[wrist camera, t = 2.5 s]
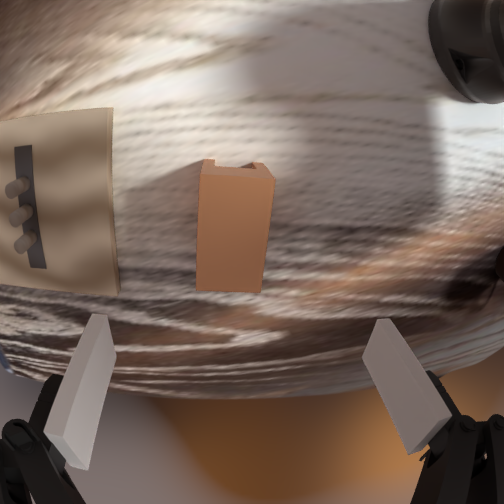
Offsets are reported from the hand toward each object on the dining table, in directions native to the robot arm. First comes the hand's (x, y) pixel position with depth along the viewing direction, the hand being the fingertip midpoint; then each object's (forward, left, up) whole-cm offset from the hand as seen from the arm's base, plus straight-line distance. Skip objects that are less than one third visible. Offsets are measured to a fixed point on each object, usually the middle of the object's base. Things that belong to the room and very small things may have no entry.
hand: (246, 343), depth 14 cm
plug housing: (0, 0, -19) cm, 19 cm away
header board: (0, -22, -19) cm, 29 cm away
